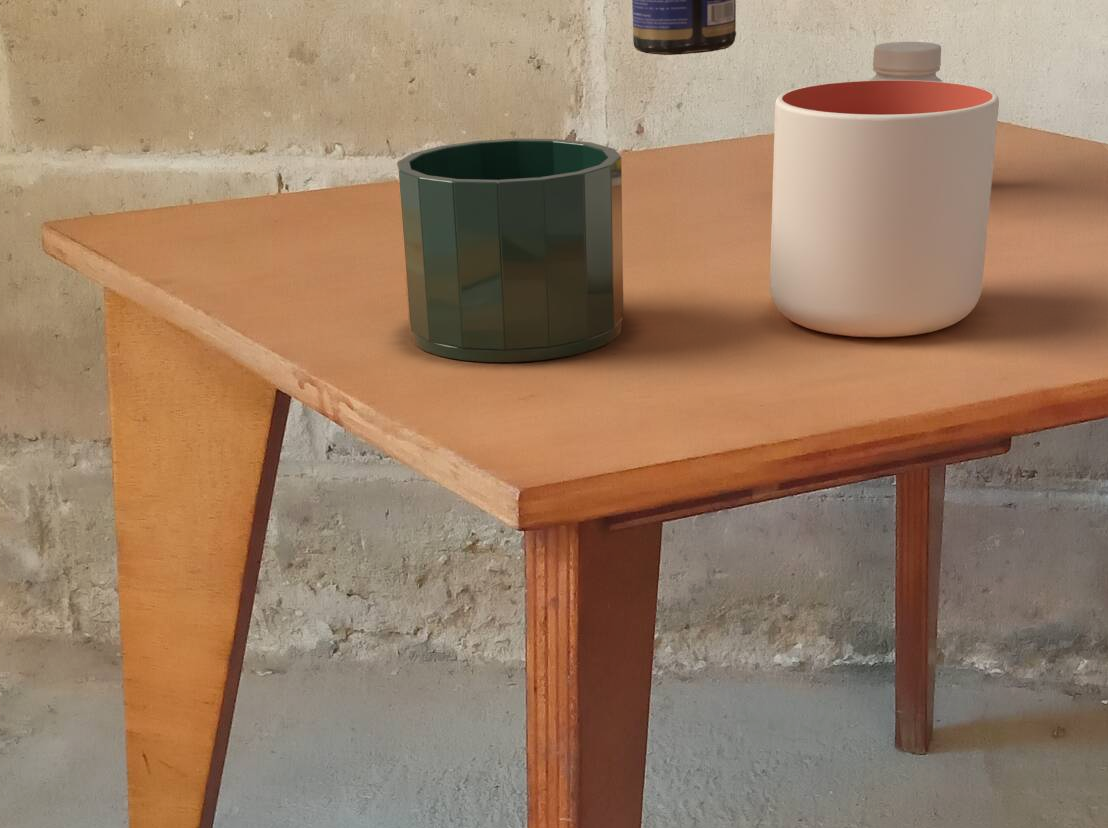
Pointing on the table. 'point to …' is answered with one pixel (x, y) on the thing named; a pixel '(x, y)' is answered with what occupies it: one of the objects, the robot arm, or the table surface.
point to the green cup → (512, 248)
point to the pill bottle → (683, 26)
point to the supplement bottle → (907, 61)
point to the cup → (881, 204)
